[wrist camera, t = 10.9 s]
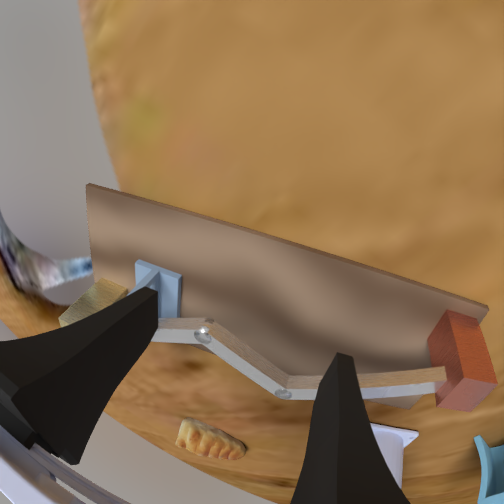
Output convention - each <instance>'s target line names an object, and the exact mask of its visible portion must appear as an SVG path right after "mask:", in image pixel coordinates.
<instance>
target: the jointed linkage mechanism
mask: <svg viewBox="0 0 504 504" xmlns="http://www.w3.org/2000/svg"><path fill="white" fill-rule="evenodd" d="M127 295H128V291H127V288H126V287H123V286H121V285H119V284H116V283H114V282H112V281H109V280H107V279H105V278H103V277H102V278H101V279H99V280H98V281H97V282H96V283H95V284H94V285H93V286H92V287H91V288H90V289H89V290H88V291H86V292H85V293H84V294H83V295H82V296H81V297H80V298H79V299H78V300H77V301H76V302H75V303H74V304H73V305H72V306H71V307H70V308H68V309H67V310H66V311H65V312H64V313H63V314H62V315H61V316H60V317H59V321H60V325H61V327H64V326H67V325H70V324H72V323H74V322H77V321H79V320H81V319H83V318H86V317H88V316H90V315H92V314H94V313H96V312H98V311H100V310H102V309H104V308H106V307H108V306H109V305H111V304H113V303H115V302H117V301H119V300H121V299H122V298H124V297H126V296H127ZM427 340H428V346H429V352H430V359H431V365H432V368H426V369H417V370H407V371H396V372H384V373H370V374H357V378H358V382H359V386H360V390H361V394H362V398H363V399H370V398H386V397H399V396H410V395H420V394H428V393H435V397H436V407H441V408H447V409H453V410H459V411H466V412H471V411H472V410H473V409H474V408H475V407H476V406H477V405H478V404H479V403H480V402H481V401H482V400H483V399H484V398H485V397H486V396H487V395H488V394H489V393H490V392H491V391H492V390H493V389H494V388H495V387H496V386H497V385H498V383H497V379H496V376H495V372H494V369H493V365H492V362H491V359H490V356H489V352H488V349H487V346H486V343H485V340H484V337H483V334H482V332H481V329H480V326H479V323H478V320H477V319H476V318H473V317H470V316H467V315H464V314H461V313H458V312H454V311H451V310H448V309H446V311H445V312H444V314H443V315H442V317H441V318H440V320H439V322H438V323H437V325H436V326H435V328H434V329H433V331H432V332H431V334H430V335H429V336H428V338H427ZM151 341H154V342H170V343H191V344H203V345H204V346H205V347H207V348H208V349H209V350H211V351H212V352H213V353H215V354H216V355H218V356H219V357H220V358H222V359H223V360H224V361H226V362H227V363H229V364H230V365H231V366H233V367H234V368H236V369H237V370H238V371H240V372H241V373H243V374H244V375H246V376H247V377H248V378H250V379H251V380H253V381H254V382H256V383H257V384H259V385H260V386H262V387H263V388H265V389H266V390H268V391H269V392H271V393H272V394H274V395H275V396H277V397H278V398H281V399H291V400H315V398H316V394H317V390H318V387H319V383H320V381H321V380H322V378H323V376H324V375H320V376H289V375H288V374H286V373H285V372H284V371H282V370H281V369H279V368H278V367H277V366H275V365H274V364H272V363H271V362H270V361H268V360H267V359H265V358H264V357H263V356H261V355H260V354H258V353H257V352H256V351H254V350H253V349H252V348H250V347H249V346H248V345H246V344H245V343H244V342H242V341H241V340H240V339H238V338H237V337H236V336H234V335H233V334H232V333H230V332H229V331H228V330H226V329H225V328H224V327H222V326H221V325H220V324H219V323H217V322H216V321H215V320H213V319H211V318H158V329H157V331H156V332H155V334H154V336H153V338H152V340H151Z"/></svg>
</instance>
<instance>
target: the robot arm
mask: <svg viewBox="0 0 504 504" xmlns="http://www.w3.org/2000/svg"><path fill="white" fill-rule="evenodd" d="M157 329H158V291H156V290H153V289H151V288H148V287H146V286H144V287H142V288H141V289H139V290H137V291H135V292H133V293H131V294H130V295H128V296H126V297H124V298H122V299H121V300H119V301H117V302H115V303H113V304H111V305H109V306H108V307H106V308H104V309H102V310H100V311H98V312H96V313H94V314H92V315H90V316H88V317H86V318H83V319H81V320H79V321H77V322H74V323H72V324H70V325H67V326H64V327H61V328H59V329H56V330H53V331H49V332H46V333H42V334H39V335H35V336H31V337H26V338H21V339H16V340H10V341H0V491H1V492H2V493H3V494H4V495H5V496H6V497H7V498H8V499H9V500H10V501H11V502H12V503H13V504H85V503H84V502H82V501H81V500H79V499H78V498H77V497H75V496H74V495H73V494H72V493H70V492H68V491H67V490H66V489H64V488H63V487H62V486H60V485H59V484H57V483H56V478H55V477H57V478H58V479H60V480H61V481H63V482H64V483H65V484H67V485H68V486H70V487H71V488H73V489H74V490H76V491H77V492H79V493H81V494H82V495H84V496H85V497H87V498H88V499H90V500H92V501H93V502H95V503H97V504H130V503H128V502H127V501H125V500H123V499H121V498H119V497H117V496H115V495H113V494H112V493H110V492H108V491H106V490H104V489H103V488H101V487H99V486H98V485H96V484H94V483H92V482H91V481H89V480H88V479H86V478H84V477H83V476H81V475H80V474H78V473H77V472H75V471H74V470H72V469H71V468H69V467H68V466H66V465H65V464H63V463H62V462H60V461H59V460H58V459H56V458H55V457H53V456H52V455H51V453H52V454H53V455H55V456H56V457H58V458H59V457H60V458H61V459H63V460H64V461H66V462H67V463H69V464H70V465H76V464H79V462H80V459H81V457H82V454H83V452H84V450H85V447H86V445H87V442H88V440H89V438H90V436H91V434H92V432H93V430H94V427H95V425H96V423H97V421H98V419H99V418H100V416H101V414H102V412H103V410H104V408H105V406H106V405H107V403H108V401H109V399H110V398H111V396H112V394H113V392H114V391H115V389H116V388H117V386H118V385H119V384H120V382H121V381H122V380H123V378H124V377H125V376H126V374H127V373H128V372H129V370H130V369H131V368H132V366H133V365H134V364H135V363H136V361H137V360H138V359H139V357H140V356H141V355H142V353H143V352H144V351H145V349H146V348H147V346H148V345H149V343H150V341H151V340H152V338H153V336H154V334H155V332H156V331H157ZM418 436H419V432H417V431H411V430H405V429H400V428H394V427H388V426H383V425H378V424H373V423H370V421H369V418H368V415H367V412H366V408H365V405H364V401H363V398H362V394H361V390H360V386H359V382H358V378H357V373H356V368H355V363H354V359H353V357H352V356H349V355H346V354H342V353H339V352H337V353H336V355H335V357H334V359H333V360H332V362H331V364H330V366H329V368H328V369H327V371H326V373H325V374H324V376H323V378H322V380H321V381H320V383H319V387H318V390H317V394H316V398H315V402H314V405H313V411H312V418H311V424H310V430H309V437H308V443H307V449H306V454H305V459H304V463H303V467H302V470H301V473H300V477H299V480H298V483H297V486H296V489H295V492H294V495H293V497H292V500H291V503H290V504H410V502H409V501H408V500H407V498H406V497H405V495H404V494H403V492H402V490H401V486H402V470H403V448H404V447H406V446H407V445H408V444H409V443H411V442H412V441H413V440H414V439H415V438H417V437H418Z"/></svg>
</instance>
